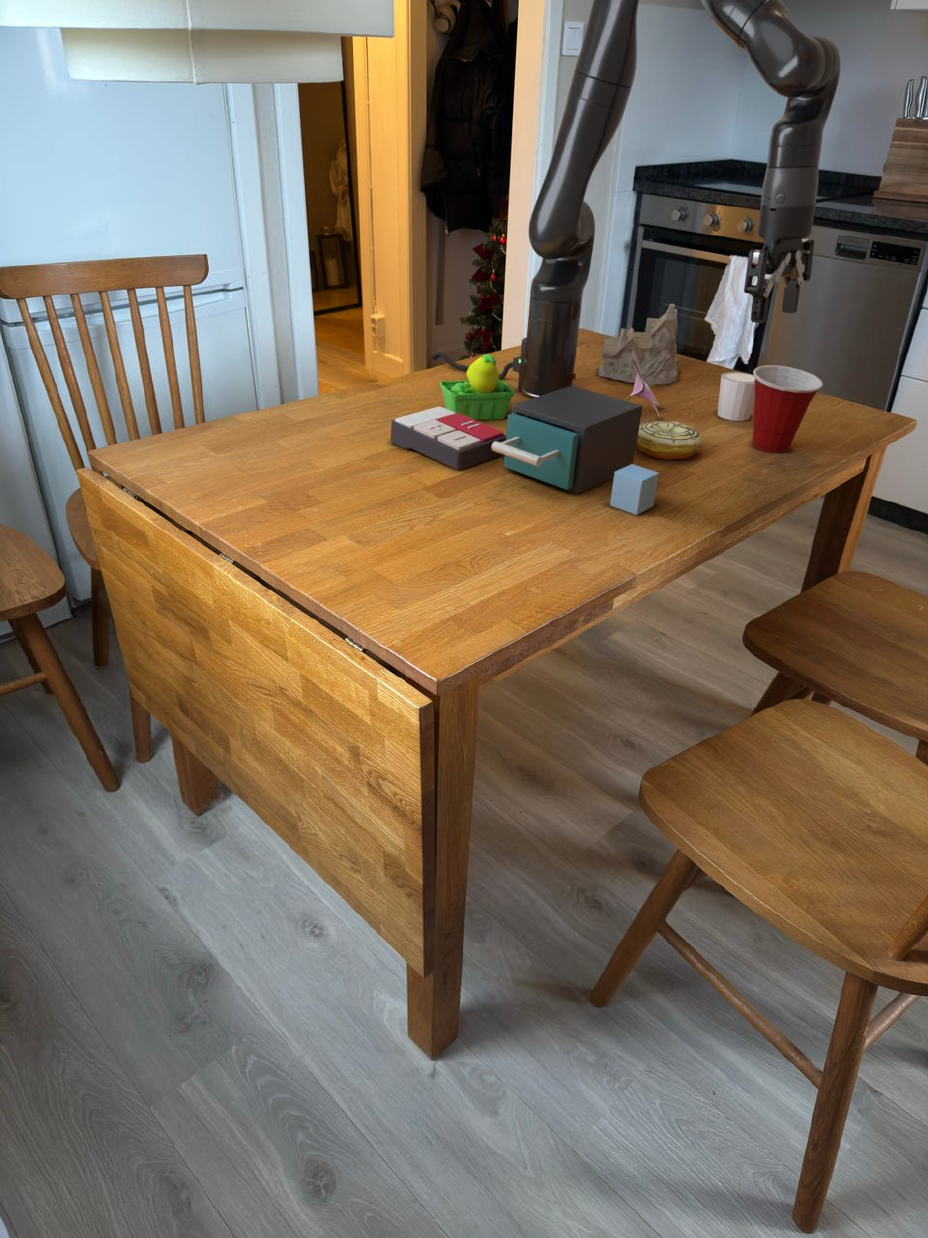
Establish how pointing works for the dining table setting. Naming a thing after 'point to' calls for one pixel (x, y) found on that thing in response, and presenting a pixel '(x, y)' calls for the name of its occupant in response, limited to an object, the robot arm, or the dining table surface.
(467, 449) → the calculator
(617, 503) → the blue block
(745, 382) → the white faceted cylinder
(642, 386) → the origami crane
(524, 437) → the drawer
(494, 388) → the fruit basket
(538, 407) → the cabinet
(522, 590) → the dining table surface
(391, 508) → the dining table surface
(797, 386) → the plastic cup
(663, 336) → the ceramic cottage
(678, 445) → the decorated donut
